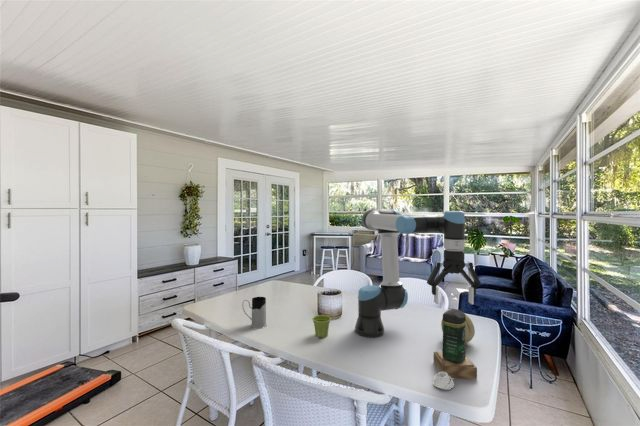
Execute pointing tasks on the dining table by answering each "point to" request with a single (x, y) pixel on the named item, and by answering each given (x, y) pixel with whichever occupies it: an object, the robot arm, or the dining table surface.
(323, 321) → the plant pot
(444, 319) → the coffee jar
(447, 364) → the walnut pedestal block
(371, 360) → the dining table surface
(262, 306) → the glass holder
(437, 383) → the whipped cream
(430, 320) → the dining table surface
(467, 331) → the cantaloupe
